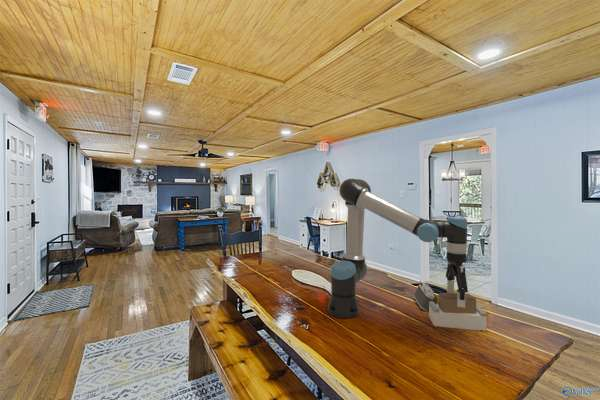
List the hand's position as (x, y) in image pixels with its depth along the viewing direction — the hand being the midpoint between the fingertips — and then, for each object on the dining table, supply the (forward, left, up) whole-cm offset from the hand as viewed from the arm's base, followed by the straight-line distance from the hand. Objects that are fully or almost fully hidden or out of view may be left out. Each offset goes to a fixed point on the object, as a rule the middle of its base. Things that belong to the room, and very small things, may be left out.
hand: (455, 300), depth 117 cm
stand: (0, 0, -10) cm, 10 cm away
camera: (-7, +18, -10) cm, 22 cm away
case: (0, 0, -4) cm, 4 cm away
